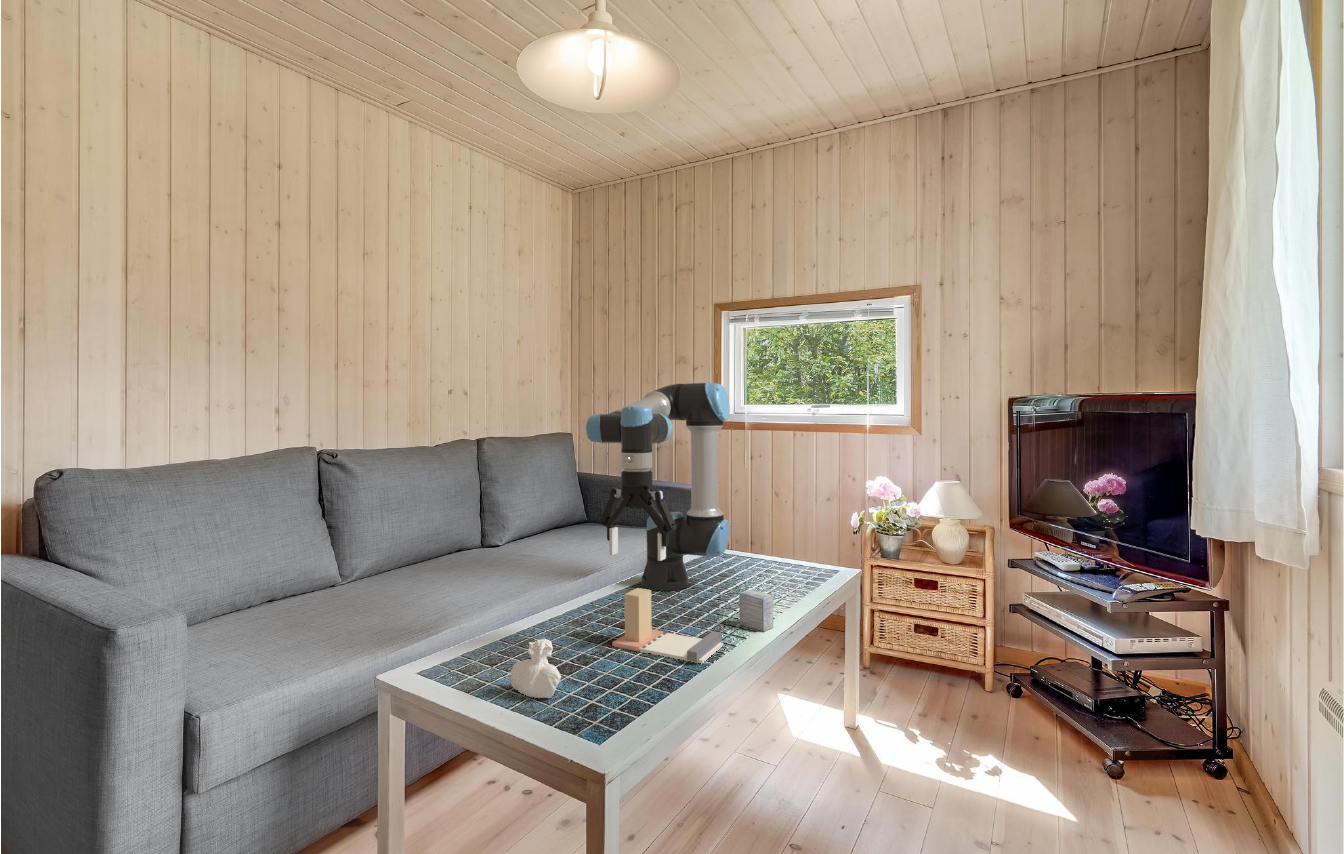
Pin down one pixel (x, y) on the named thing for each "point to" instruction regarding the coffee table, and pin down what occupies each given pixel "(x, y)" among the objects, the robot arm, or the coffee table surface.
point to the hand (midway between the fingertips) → (637, 556)
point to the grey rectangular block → (756, 610)
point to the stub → (637, 621)
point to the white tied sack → (536, 672)
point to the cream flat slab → (684, 646)
